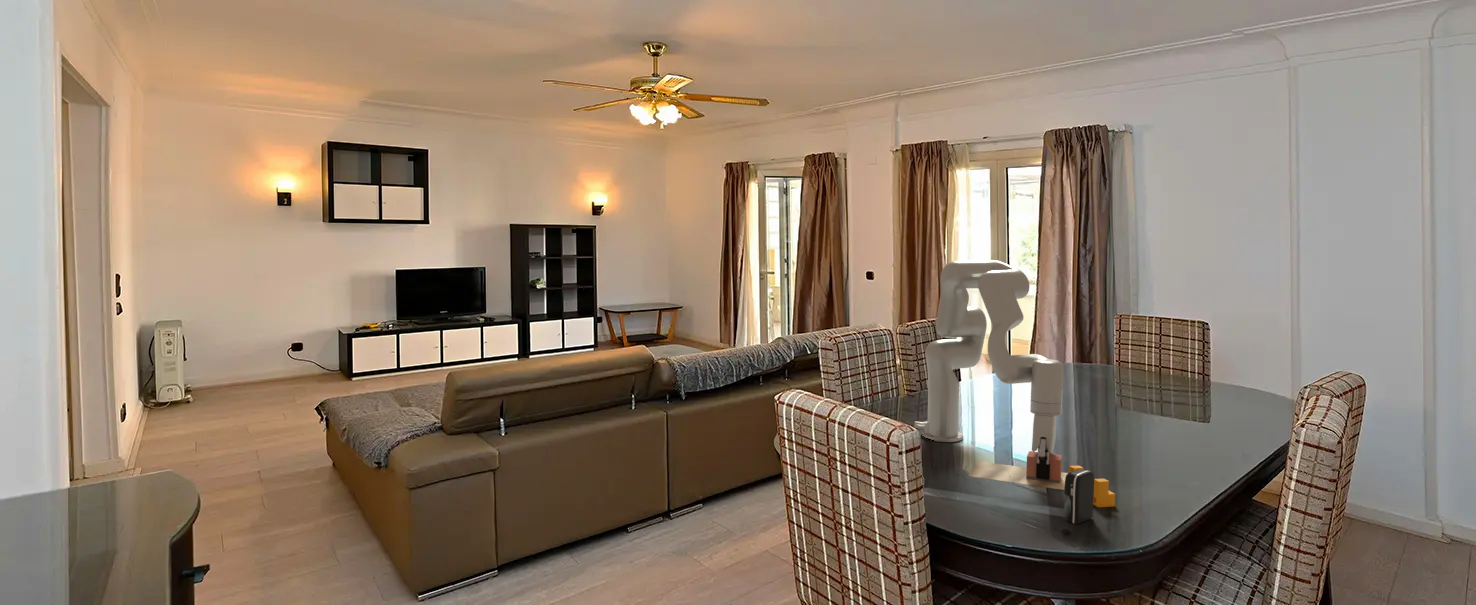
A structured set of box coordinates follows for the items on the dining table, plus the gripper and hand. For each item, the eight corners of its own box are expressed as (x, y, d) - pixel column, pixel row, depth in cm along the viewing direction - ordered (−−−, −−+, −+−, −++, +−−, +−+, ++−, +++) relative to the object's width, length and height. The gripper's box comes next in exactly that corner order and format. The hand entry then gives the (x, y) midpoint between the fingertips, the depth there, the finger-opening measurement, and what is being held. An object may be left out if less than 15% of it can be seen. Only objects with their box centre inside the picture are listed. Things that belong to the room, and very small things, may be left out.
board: (968, 481, 192) (968, 476, 192) (977, 466, 205) (977, 461, 205) (1067, 496, 181) (1067, 490, 181) (1070, 479, 194) (1071, 473, 194)
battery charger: (1077, 513, 170) (1079, 465, 169) (1093, 518, 167) (1095, 470, 166) (1060, 520, 166) (1062, 471, 165) (1076, 525, 163) (1078, 476, 162)
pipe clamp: (1114, 506, 174) (1115, 480, 174) (1098, 508, 174) (1099, 481, 173) (1084, 489, 186) (1085, 465, 186) (1068, 490, 186) (1069, 465, 185)
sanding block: (1026, 478, 190) (1026, 456, 189) (1028, 472, 194) (1029, 451, 194) (1059, 483, 186) (1060, 460, 186) (1061, 477, 191) (1061, 455, 190)
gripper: (1034, 398, 198) (1032, 464, 199) (1026, 412, 183) (1024, 483, 184) (1064, 401, 194) (1061, 468, 196) (1059, 416, 179) (1056, 487, 181)
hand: (1043, 474), depth 190 cm, fingers closed on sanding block, 5 cm apart
